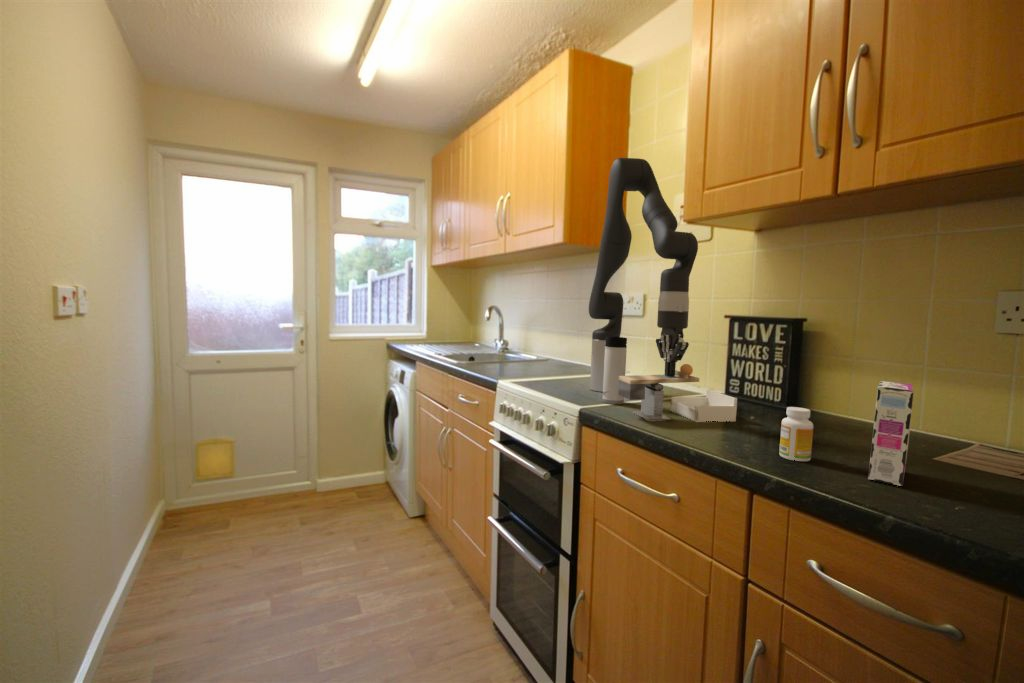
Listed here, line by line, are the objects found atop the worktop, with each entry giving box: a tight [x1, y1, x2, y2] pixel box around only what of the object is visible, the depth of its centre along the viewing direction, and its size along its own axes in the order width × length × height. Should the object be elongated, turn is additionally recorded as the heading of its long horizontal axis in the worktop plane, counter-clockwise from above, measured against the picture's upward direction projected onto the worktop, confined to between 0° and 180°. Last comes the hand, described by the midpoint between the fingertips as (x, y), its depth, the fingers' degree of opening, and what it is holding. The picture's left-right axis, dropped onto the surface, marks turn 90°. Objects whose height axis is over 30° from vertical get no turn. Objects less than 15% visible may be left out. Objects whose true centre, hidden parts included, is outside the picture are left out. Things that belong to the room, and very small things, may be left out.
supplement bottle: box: [778, 406, 814, 462], centre depth 93 cm, size 5×5×10 cm
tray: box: [670, 389, 738, 423], centre depth 126 cm, size 12×11×6 cm
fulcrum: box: [632, 383, 672, 422], centre depth 123 cm, size 9×6×9 cm, turn 11°
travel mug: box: [602, 336, 628, 405], centre depth 140 cm, size 6×7×20 cm
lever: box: [618, 369, 700, 401], centre depth 123 cm, size 19×7×6 cm, turn 101°
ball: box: [679, 363, 694, 376], centre depth 125 cm, size 3×3×3 cm
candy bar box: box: [867, 380, 915, 487], centre depth 83 cm, size 11×5×16 cm, turn 141°
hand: (669, 375), depth 124 cm, fingers closed
